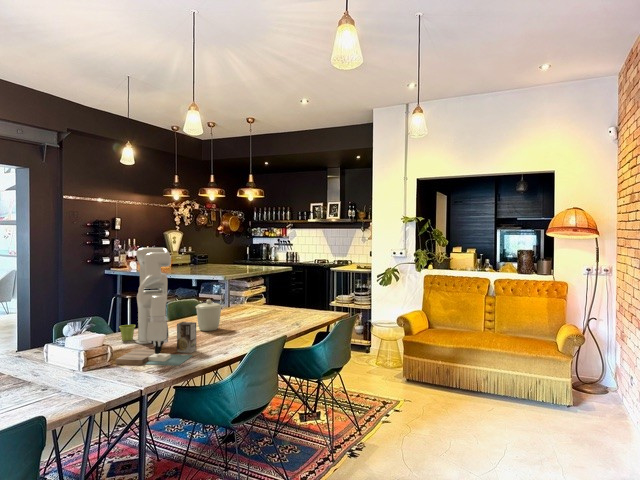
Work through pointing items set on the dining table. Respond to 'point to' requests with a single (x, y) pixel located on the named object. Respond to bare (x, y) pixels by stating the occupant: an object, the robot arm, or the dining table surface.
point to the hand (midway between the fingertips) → (158, 353)
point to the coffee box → (186, 337)
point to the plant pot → (127, 332)
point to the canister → (208, 315)
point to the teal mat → (171, 360)
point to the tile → (159, 357)
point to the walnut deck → (135, 357)
